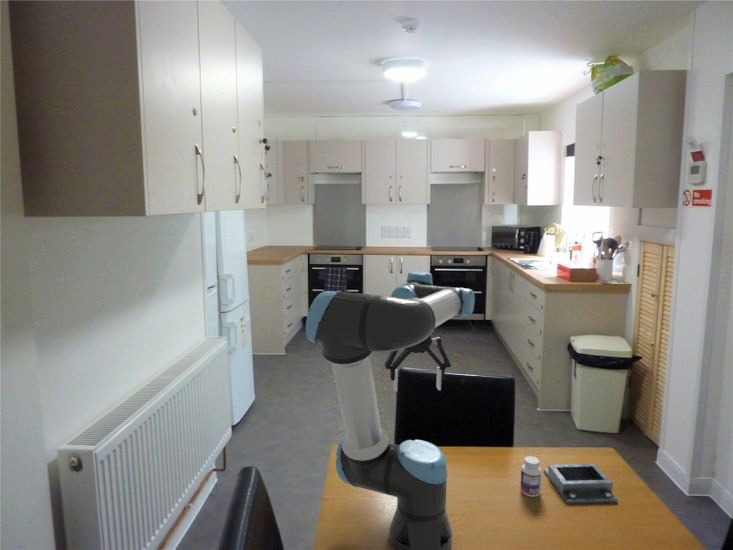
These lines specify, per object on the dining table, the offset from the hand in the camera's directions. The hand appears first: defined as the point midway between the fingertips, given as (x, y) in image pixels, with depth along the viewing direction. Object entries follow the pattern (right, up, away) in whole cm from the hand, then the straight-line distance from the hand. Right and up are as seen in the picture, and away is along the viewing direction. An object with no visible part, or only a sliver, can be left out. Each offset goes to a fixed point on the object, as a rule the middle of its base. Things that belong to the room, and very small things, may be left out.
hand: (417, 389), depth 155 cm
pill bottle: (+31, -26, -14) cm, 42 cm away
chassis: (+45, -25, -11) cm, 53 cm away
